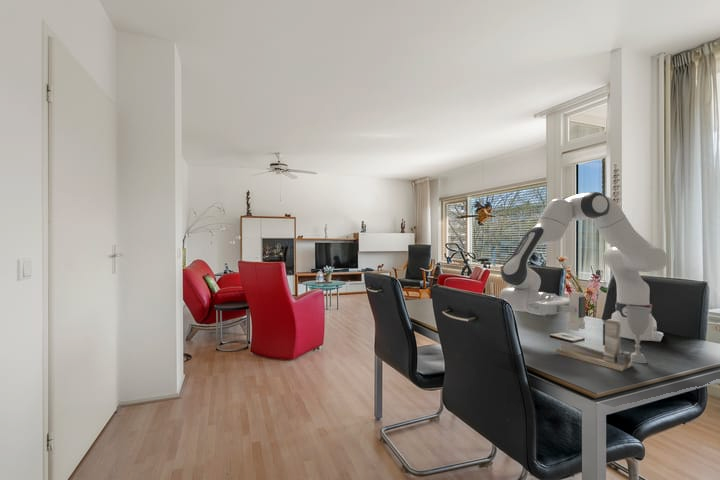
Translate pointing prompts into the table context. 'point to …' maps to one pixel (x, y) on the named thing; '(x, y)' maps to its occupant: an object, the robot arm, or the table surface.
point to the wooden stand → (604, 358)
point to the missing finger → (578, 317)
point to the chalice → (638, 328)
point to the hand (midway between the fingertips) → (579, 309)
